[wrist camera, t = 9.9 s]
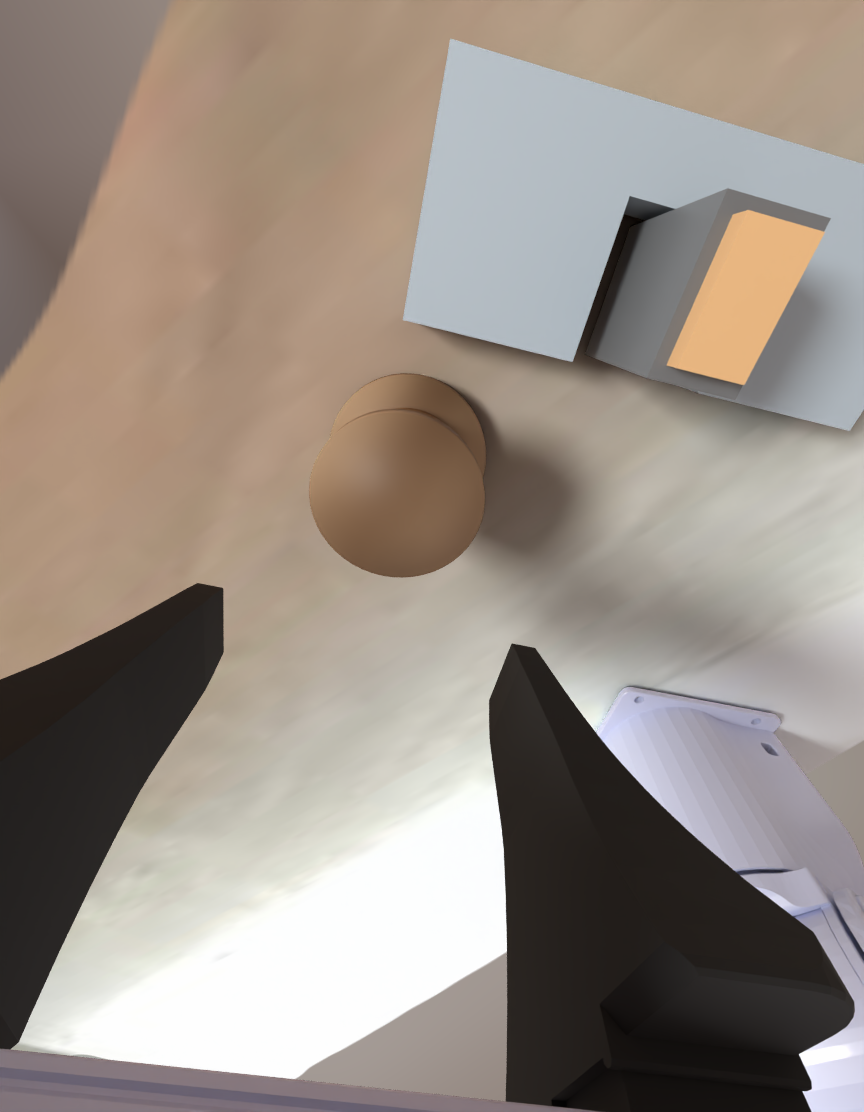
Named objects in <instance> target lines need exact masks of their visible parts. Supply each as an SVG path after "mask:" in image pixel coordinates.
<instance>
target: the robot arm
mask: <svg viewBox="0 0 864 1112" xmlns="http://www.w3.org/2000/svg"><path fill="white" fill-rule="evenodd" d="M223 652H224V646H223V588H220V587H215V586H210V585H205V584H199V583H197V584H195V585H193V586H191V587H189V588H187V589H185V590H184V591H182V592H180V593H178V594H176V595H175V596H173V597H171V598H169V599H167V600H166V601H164V602H162V603H160V604H159V605H157V606H155V607H153V608H151V609H150V610H148V611H146V612H144V613H142V614H140V615H138V616H137V617H135V618H133V619H131V620H129V621H127V622H125V623H124V624H122V625H120V626H118V627H116V628H114V629H112V630H110V631H108V632H106V633H104V634H102V635H100V636H98V637H96V638H94V639H92V640H90V641H88V642H86V643H84V644H82V645H79V646H77V647H75V648H73V649H71V650H69V651H67V652H65V653H63V654H61V655H58V656H56V657H54V658H52V659H49V660H47V661H45V662H42V663H40V664H38V665H35V666H33V667H30V668H28V669H26V670H23V671H21V672H18V673H16V674H13V675H11V676H8V677H6V678H3V679H1V680H0V1112H864V867H863V863H862V860H861V857H860V854H859V852H858V849H857V847H856V844H855V843H854V841H853V839H852V837H851V835H850V834H849V832H848V831H847V829H846V828H845V826H844V825H843V823H842V822H841V821H840V819H839V818H838V817H837V816H836V814H835V813H834V812H833V810H832V809H831V808H830V806H829V805H828V804H827V802H826V801H825V800H824V798H823V797H822V796H821V794H820V793H819V792H818V791H817V789H816V788H815V787H814V785H813V784H812V783H811V781H810V780H809V779H808V777H807V776H806V775H805V773H804V772H803V771H802V769H801V768H800V767H799V766H798V764H797V763H796V762H795V760H794V759H793V758H792V756H791V755H790V754H789V752H788V751H787V750H786V748H785V747H784V746H783V744H782V743H781V742H780V741H779V739H778V738H777V737H776V735H775V734H774V732H775V731H776V730H777V728H778V727H779V726H780V724H781V720H780V719H779V718H778V716H777V715H776V714H772V713H767V712H762V711H756V710H751V709H746V708H741V707H735V706H730V705H725V704H719V703H714V702H709V701H703V700H698V699H693V698H687V697H682V696H677V695H671V694H666V693H661V692H656V691H650V690H645V689H640V688H634V687H626V688H624V689H622V690H621V691H620V693H619V694H618V696H617V698H616V699H615V701H614V703H613V704H612V706H611V708H610V710H609V711H608V713H607V715H606V716H605V718H604V720H603V722H602V723H601V725H600V727H599V728H598V730H597V732H595V731H594V730H593V728H592V727H591V726H590V724H589V723H588V722H587V721H586V719H585V718H584V717H583V715H582V714H581V713H580V711H579V710H578V709H577V707H576V706H575V704H574V703H573V702H572V700H571V699H570V698H569V696H568V695H567V693H566V692H565V691H564V689H563V688H562V686H561V685H560V683H559V682H558V680H557V679H556V678H555V676H554V675H553V673H552V672H551V670H550V669H549V667H548V666H547V664H546V663H545V662H544V660H543V659H542V657H541V656H540V654H539V653H538V652H537V650H536V649H535V648H532V647H527V646H522V645H517V644H511V647H510V649H509V652H508V654H507V657H506V659H505V662H504V664H503V667H502V670H501V672H500V675H499V677H498V680H497V682H496V685H495V687H494V690H493V692H492V695H491V697H490V700H489V730H490V745H491V753H492V761H493V768H494V775H495V783H496V790H497V797H498V804H499V812H500V819H501V826H502V836H503V846H504V865H505V888H506V923H507V1001H508V1003H507V1074H506V1102H505V1101H495V1100H486V1099H476V1098H467V1097H458V1096H448V1095H439V1094H429V1093H420V1092H409V1091H400V1090H391V1089H381V1088H371V1087H362V1086H353V1085H342V1084H334V1083H324V1082H314V1081H305V1080H295V1079H286V1078H276V1077H267V1076H257V1075H248V1074H238V1073H229V1072H219V1071H210V1070H200V1069H191V1068H181V1067H171V1066H162V1065H152V1064H143V1063H133V1062H124V1061H114V1060H105V1059H95V1058H85V1057H76V1056H67V1055H57V1054H47V1053H38V1052H28V1051H19V1050H10V1049H11V1048H12V1047H14V1046H15V1045H16V1044H17V1043H18V1042H19V1040H20V1038H21V1036H22V1033H23V1031H24V1029H25V1026H26V1024H27V1022H28V1020H29V1017H30V1015H31V1013H32V1011H33V1008H34V1006H35V1004H36V1002H37V1000H38V997H39V995H40V993H41V991H42V989H43V986H44V984H45V982H46V980H47V978H48V975H49V973H50V971H51V969H52V967H53V964H54V962H55V960H56V958H57V955H58V953H59V951H60V949H61V947H62V945H63V943H64V941H65V938H66V936H67V934H68V932H69V930H70V928H71V926H72V924H73V922H74V920H75V918H76V916H77V913H78V911H79V909H80V907H81V905H82V903H83V901H84V899H85V897H86V895H87V893H88V891H89V888H90V886H91V884H92V882H93V881H94V879H95V877H96V875H97V873H98V871H99V869H100V867H101V865H102V863H103V861H104V859H105V857H106V855H107V853H108V851H109V849H110V847H111V845H112V843H113V841H114V839H115V837H116V835H117V833H118V831H119V830H120V828H121V826H122V824H123V822H124V820H125V818H126V816H127V814H128V813H129V811H130V809H131V807H132V805H133V803H134V801H135V799H136V797H137V796H138V794H139V792H140V790H141V789H142V787H143V785H144V784H145V782H146V780H147V779H148V777H149V775H150V774H151V772H152V771H153V769H154V768H155V766H156V765H157V763H158V762H159V760H160V758H161V757H162V755H163V754H164V752H165V751H166V749H167V748H168V746H169V745H170V743H171V742H172V740H173V739H174V737H175V736H176V734H177V733H178V731H179V730H180V728H181V727H182V725H183V724H184V722H185V720H186V719H187V717H188V716H189V714H190V713H191V711H192V710H193V708H194V707H195V705H196V704H197V702H198V700H199V699H200V697H201V696H202V694H203V693H204V691H205V689H206V688H207V686H208V684H209V682H210V680H211V678H212V676H213V674H214V672H215V669H216V667H217V665H218V663H219V661H220V659H221V657H222V654H223ZM639 696H640V697H639ZM636 697H638V698H636Z"/></svg>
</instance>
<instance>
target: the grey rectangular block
mask: <svg viewBox="0 0 864 1112" xmlns="http://www.w3.org/2000/svg"><path fill="white" fill-rule="evenodd" d="M830 220H831V218H828V217H825V216H822V215H818V214H815V213H811V212H808V211H804V210H801V209H798V208H794V207H791V206H787V205H784V204H780V203H777V202H774V201H770V200H767V199H763V198H760V197H756V196H753V195H750V194H746V193H743V192H739V191H736V190H732V189H729V188H727V189H725V190H722V191H719V192H717V193H714V194H712V195H709V196H707V197H704V198H702V199H699V200H697V201H694V202H692V203H689V204H687V205H684V206H682V207H679V208H677V209H674V210H672V211H669V212H667V213H664V214H662V215H659V216H657V217H654V218H652V219H649V220H647V221H644V222H642V223H639V224H637V225H634V226H632V227H630V229H629V232H628V235H627V238H626V240H625V243H624V246H623V249H622V252H621V255H620V257H619V260H618V263H617V266H616V269H615V271H614V274H613V277H612V280H611V283H610V286H609V288H608V291H607V294H606V297H605V300H604V302H603V305H602V308H601V311H600V314H599V316H598V319H597V322H596V325H595V328H594V331H593V333H592V336H591V339H590V342H589V345H588V347H587V350H586V353H585V355H587V356H590V357H593V358H595V359H598V360H600V361H603V362H606V363H608V364H611V365H613V366H616V367H619V368H621V369H624V370H627V371H629V372H632V373H634V374H637V375H640V376H642V377H645V378H648V379H652V380H656V381H660V382H664V383H668V384H672V385H676V386H680V387H684V388H688V389H692V390H696V391H700V392H704V393H708V394H712V395H716V396H720V397H724V398H728V399H732V400H736V398H737V396H738V394H739V392H740V390H741V388H742V386H743V385H745V383H746V381H747V379H748V377H749V375H750V373H751V371H752V370H753V368H754V366H755V364H756V362H757V360H758V358H759V356H760V354H761V353H762V351H763V349H764V347H765V345H766V343H767V341H768V339H769V337H770V336H771V334H772V332H773V330H774V328H775V326H776V324H777V322H778V320H779V319H780V317H781V315H782V313H783V311H784V309H785V307H786V305H787V303H788V302H789V300H790V298H791V296H792V294H793V292H794V290H795V288H796V286H797V285H798V283H799V281H800V279H801V277H802V275H803V273H804V271H805V269H806V268H807V266H808V264H809V262H810V260H811V258H812V256H813V254H814V252H815V250H816V249H817V247H818V245H819V243H820V241H821V239H822V237H823V235H824V233H825V232H824V231H825V229H826V227H827V225H828V223H829V221H830Z"/></svg>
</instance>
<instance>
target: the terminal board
mask: <svg viewBox="0 0 864 1112" xmlns="http://www.w3.org/2000/svg"><path fill="white" fill-rule="evenodd" d="M727 188H729V189H732V190H736V191H739V192H743V193H746V194H750V195H753V196H756V197H760V198H763V199H767V200H770V201H774V202H777V203H780V204H784V205H787V206H791V207H794V208H798V209H801V210H804V211H808V212H811V213H815V214H818V215H822V216H825V217H828V218H831V220H830V221H829V223H828V225H827V227H826V229H825V231H824V232H825V233H824V235H823V237H822V239H821V241H820V243H819V245H818V247H817V249H816V250H815V252H814V254H813V256H812V258H811V260H810V262H809V264H808V266H807V268H806V269H805V271H804V273H803V275H802V277H801V279H800V281H799V283H798V285H797V286H796V288H795V290H794V292H793V294H792V296H791V298H790V300H789V302H788V303H787V305H786V307H785V309H784V311H783V313H782V315H781V317H780V319H779V320H778V322H777V324H776V326H775V328H774V330H773V332H772V334H771V336H770V337H769V339H768V341H767V343H766V345H765V347H764V349H763V351H762V353H761V354H760V356H759V358H758V360H757V362H756V364H755V366H754V368H753V370H752V371H751V373H750V375H749V377H748V379H747V381H746V383H745V385H743V386H742V388H741V390H740V392H739V394H738V396H737V398H736V400H732V399H728V398H724V397H720V396H716V395H712V394H708V393H704V392H700V391H696V390H692V389H688V388H685V389H687V390H690V391H693V392H696V393H699V394H703V395H707V396H711V397H715V398H719V399H723V400H727V401H731V402H735V403H739V404H743V405H747V406H751V407H755V408H759V409H763V410H767V411H771V412H775V413H779V414H783V415H787V416H791V417H795V418H799V419H803V420H807V421H811V422H815V423H819V424H823V425H827V426H831V427H835V428H839V429H843V430H847V431H850V430H851V428H852V427H853V425H854V424H855V422H856V421H857V419H858V418H859V416H860V415H861V413H862V412H863V410H864V164H861V163H858V162H855V161H851V160H848V159H845V158H841V157H838V156H835V155H832V154H828V153H825V152H822V151H818V150H815V149H812V148H808V147H805V146H802V145H799V144H795V143H792V142H789V141H785V140H782V139H779V138H776V137H772V136H769V135H766V134H762V133H759V132H756V131H753V130H749V129H746V128H743V127H739V126H736V125H733V124H730V123H726V122H723V121H720V120H716V119H713V118H710V117H707V116H703V115H700V114H697V113H693V112H690V111H687V110H684V109H680V108H677V107H674V106H670V105H667V104H664V103H660V102H657V101H654V100H651V99H647V98H644V97H641V96H637V95H634V94H631V93H628V92H624V91H621V90H618V89H614V88H611V87H608V86H605V85H601V84H598V83H595V82H591V81H588V80H585V79H582V78H578V77H575V76H572V75H568V74H565V73H562V72H559V71H555V70H552V69H549V68H545V67H542V66H539V65H536V64H532V63H529V62H526V61H522V60H519V59H516V58H512V57H509V56H506V55H503V54H499V53H496V52H493V51H489V50H486V49H483V48H480V47H476V46H473V45H470V44H466V43H463V42H460V41H457V40H453V39H450V44H449V50H448V56H447V62H446V68H445V73H444V79H443V85H442V91H441V97H440V103H439V109H438V115H437V121H436V127H435V133H434V139H433V145H432V150H431V156H430V162H429V168H428V174H427V180H426V186H425V192H424V198H423V204H422V210H421V216H420V222H419V227H418V233H417V239H416V245H415V251H414V257H413V263H412V269H411V275H410V281H409V287H408V293H407V298H406V304H405V310H404V316H403V320H405V321H409V322H413V323H417V324H421V325H425V326H429V327H433V328H437V329H441V330H445V331H450V332H454V333H458V334H462V335H466V336H470V337H474V338H478V339H482V340H486V341H490V342H494V343H498V344H502V345H506V346H510V347H514V348H518V349H522V350H526V351H530V352H534V353H538V354H542V355H546V356H550V357H554V358H558V359H562V360H566V361H570V362H573V359H574V356H575V353H576V350H577V347H578V345H579V342H580V339H581V336H582V333H583V330H584V327H585V324H586V321H587V319H588V316H589V313H590V310H591V307H592V304H593V301H594V298H595V295H596V292H597V290H598V287H599V284H600V281H601V278H602V275H603V272H604V269H605V266H606V264H607V261H608V258H609V255H610V252H611V249H612V246H613V243H614V240H615V237H616V235H617V232H618V229H619V226H620V223H621V220H622V217H623V214H624V215H628V216H631V217H635V218H639V219H642V220H646V221H647V220H649V219H652V218H654V217H657V216H659V215H662V214H664V213H667V212H669V211H672V210H674V209H677V208H679V207H682V206H684V205H687V204H689V203H692V202H694V201H697V200H699V199H702V198H704V197H707V196H709V195H712V194H714V193H717V192H719V191H722V190H725V189H727ZM679 387H680V386H679ZM682 388H684V387H682Z"/></svg>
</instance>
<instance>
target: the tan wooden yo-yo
mask: <svg viewBox="0 0 864 1112" xmlns="http://www.w3.org/2000/svg"><path fill="white" fill-rule="evenodd" d="M485 466H486V445H485V440H484V435H483V432H482V429H481V426H480V423H479V421H478V419H477V417H476V415H475V413H474V411H473V410H472V408H471V407H470V405H469V404H468V403H467V402H466V400H465V399H464V398H463V397H462V396H461V395H460V394H459V393H457V392H456V391H455V390H454V389H452V388H451V387H449V386H448V385H446V384H445V383H443V382H441V381H438V380H436V379H434V378H431V377H427V376H424V375H418V374H405V373H402V374H393V375H389V376H385V377H381V378H379V379H376V380H374V381H372V382H370V383H368V384H367V385H365V386H363V387H362V388H361V389H360V390H358V391H357V392H356V393H355V394H354V395H353V396H352V397H351V398H350V399H349V400H348V401H347V402H346V403H345V404H344V406H343V407H342V409H341V410H340V412H339V413H338V415H337V418H336V420H335V422H334V424H333V427H332V430H331V435H330V439H329V441H328V442H327V443H326V444H325V446H324V447H323V449H322V450H321V451H320V453H319V455H318V457H317V459H316V461H315V463H314V466H313V469H312V472H311V478H310V484H309V498H310V506H311V510H312V514H313V517H314V519H315V522H316V524H317V527H318V528H319V530H320V532H321V534H322V535H323V537H324V538H325V540H326V541H327V542H328V544H329V545H330V546H331V547H332V548H333V549H334V550H335V551H336V552H337V553H338V554H339V555H341V556H342V557H343V558H344V559H346V560H347V561H349V562H350V563H352V564H353V565H355V566H357V567H359V568H361V569H363V570H366V571H369V572H371V573H374V574H378V575H382V576H389V577H414V576H419V575H424V574H427V573H431V572H434V571H436V570H438V569H440V568H442V567H444V566H446V565H448V564H449V563H451V562H452V561H454V560H455V559H456V558H457V557H459V556H460V555H461V554H462V553H463V552H464V551H465V550H466V549H467V547H468V546H469V545H470V543H471V542H472V541H473V539H474V537H475V535H476V534H477V532H478V530H479V527H480V524H481V522H482V518H483V513H484V506H485V492H484V485H483V480H482V479H483V476H484V471H485Z"/></svg>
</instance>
